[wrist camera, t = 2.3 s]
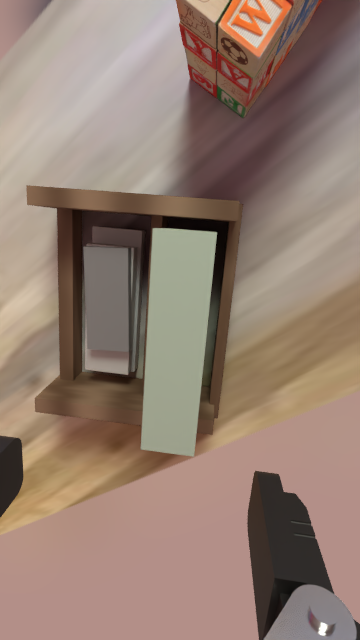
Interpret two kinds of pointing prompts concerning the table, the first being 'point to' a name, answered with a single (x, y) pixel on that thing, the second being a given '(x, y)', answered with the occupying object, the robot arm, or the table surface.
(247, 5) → the stack of blocks
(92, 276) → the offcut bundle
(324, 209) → the table surface
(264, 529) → the robot arm
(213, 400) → the rack
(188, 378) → the tall sheet
